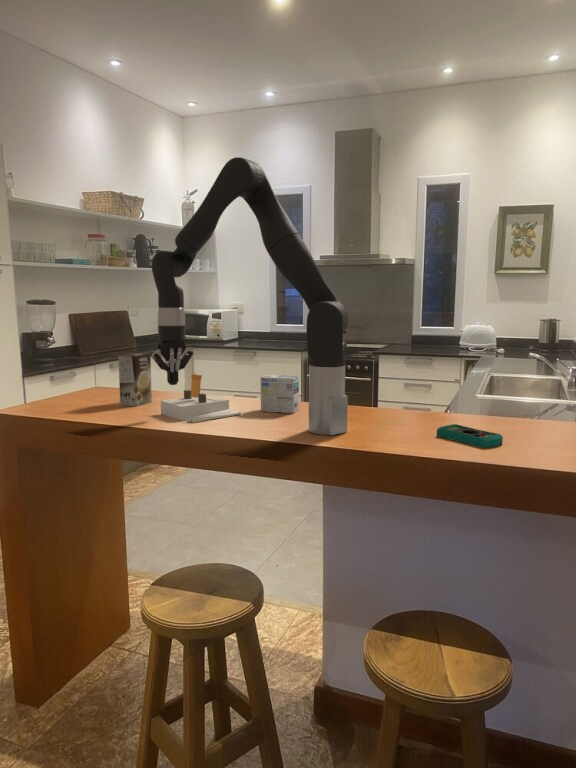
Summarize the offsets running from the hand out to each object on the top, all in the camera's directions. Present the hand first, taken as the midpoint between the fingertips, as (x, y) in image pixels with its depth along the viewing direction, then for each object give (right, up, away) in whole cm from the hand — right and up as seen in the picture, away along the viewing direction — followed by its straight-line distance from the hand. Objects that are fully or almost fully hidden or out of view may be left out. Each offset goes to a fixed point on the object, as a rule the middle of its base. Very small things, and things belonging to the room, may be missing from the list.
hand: (173, 384), depth 162 cm
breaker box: (+5, -9, +6) cm, 12 cm away
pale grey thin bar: (+10, -10, 0) cm, 14 cm away
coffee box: (-16, -6, +22) cm, 28 cm away
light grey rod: (+13, -10, -1) cm, 16 cm away
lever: (+5, -5, +5) cm, 9 cm away
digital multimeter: (+77, -14, -24) cm, 82 cm away
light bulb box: (+31, -8, +11) cm, 33 cm away
